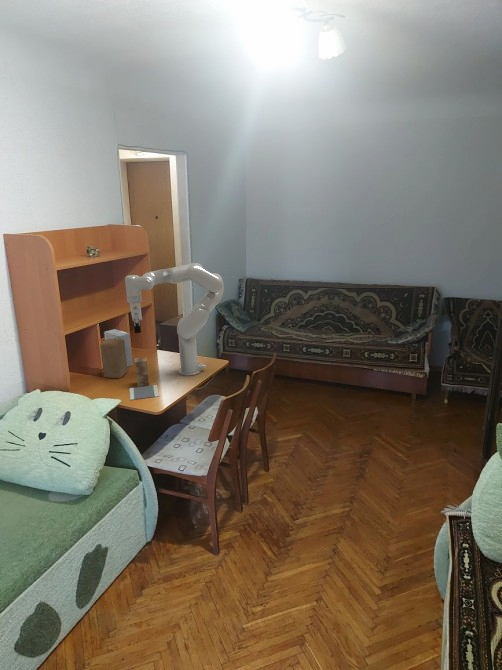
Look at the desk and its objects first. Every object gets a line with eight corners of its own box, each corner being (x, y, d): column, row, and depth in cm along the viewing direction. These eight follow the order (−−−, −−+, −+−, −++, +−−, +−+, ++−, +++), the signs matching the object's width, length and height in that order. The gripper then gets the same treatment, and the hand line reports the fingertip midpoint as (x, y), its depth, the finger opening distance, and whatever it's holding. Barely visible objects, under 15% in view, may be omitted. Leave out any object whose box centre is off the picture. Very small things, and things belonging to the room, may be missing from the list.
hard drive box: (133, 365, 269) (129, 333, 263) (122, 369, 263) (118, 336, 257) (118, 359, 279) (114, 328, 272) (107, 363, 273) (103, 331, 267)
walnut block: (148, 381, 246) (146, 357, 242) (149, 385, 240) (146, 360, 236) (137, 382, 244) (134, 358, 240) (137, 387, 239) (134, 362, 235)
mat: (157, 385, 240) (157, 384, 240) (159, 396, 228) (158, 395, 227) (129, 388, 237) (129, 388, 237) (130, 400, 224) (130, 399, 224)
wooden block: (120, 379, 250) (116, 344, 244) (103, 377, 252) (99, 343, 246) (128, 372, 259) (124, 338, 253) (112, 371, 261) (108, 337, 255)
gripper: (142, 301, 235) (145, 335, 241) (141, 294, 251) (144, 326, 256) (127, 302, 234) (130, 336, 239) (127, 296, 249) (130, 328, 254)
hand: (137, 331), depth 248 cm, fingers open, 3 cm apart
